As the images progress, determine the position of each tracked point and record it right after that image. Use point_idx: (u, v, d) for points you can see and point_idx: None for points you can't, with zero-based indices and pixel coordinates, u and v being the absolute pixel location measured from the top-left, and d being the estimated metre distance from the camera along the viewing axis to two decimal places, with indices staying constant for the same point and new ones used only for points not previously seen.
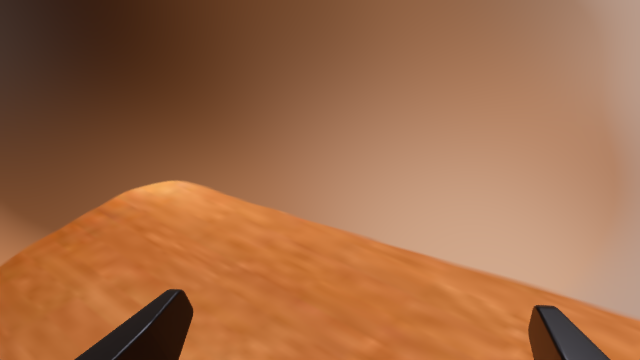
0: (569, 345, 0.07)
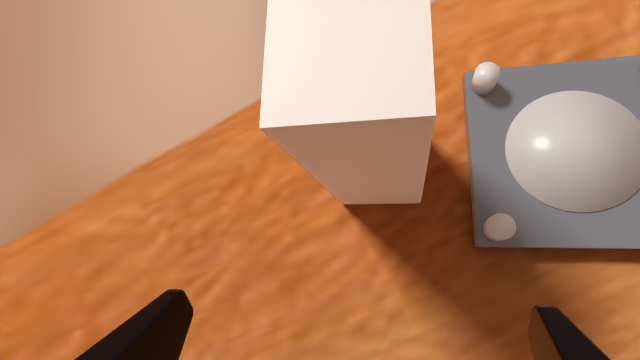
0: (569, 345, 0.07)
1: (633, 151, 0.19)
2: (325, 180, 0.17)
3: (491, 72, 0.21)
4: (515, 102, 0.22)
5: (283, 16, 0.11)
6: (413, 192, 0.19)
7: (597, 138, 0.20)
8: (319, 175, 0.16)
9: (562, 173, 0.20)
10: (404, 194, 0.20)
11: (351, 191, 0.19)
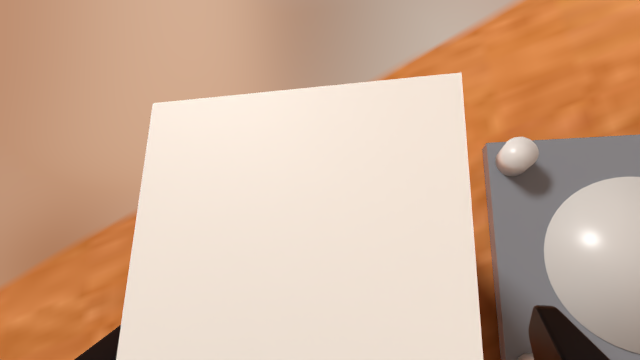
0: (569, 345, 0.07)
1: None
2: None
3: (525, 152, 0.15)
4: (556, 188, 0.16)
5: (172, 174, 0.06)
6: None
7: None
8: None
9: (626, 297, 0.14)
10: None
11: None
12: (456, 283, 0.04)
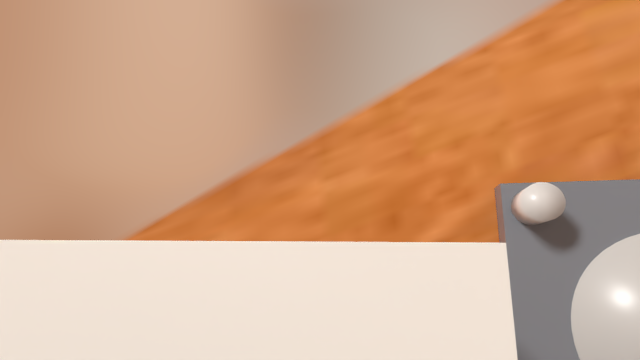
0: None
1: None
2: None
3: (549, 201, 0.13)
4: (585, 242, 0.13)
5: None
6: None
7: None
8: None
9: None
10: None
11: None
12: None
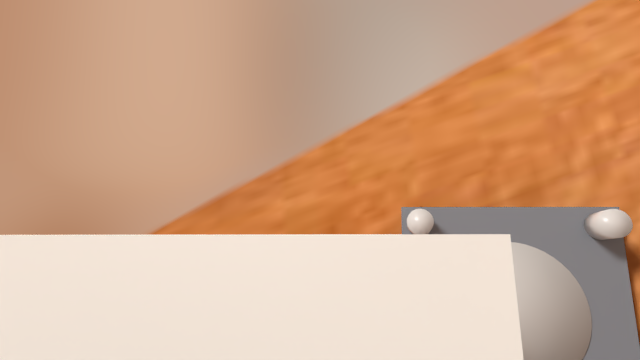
0: None
1: (572, 321, 0.18)
2: None
3: (424, 221, 0.19)
4: None
5: None
6: None
7: (535, 301, 0.18)
8: None
9: None
10: None
11: None
12: None
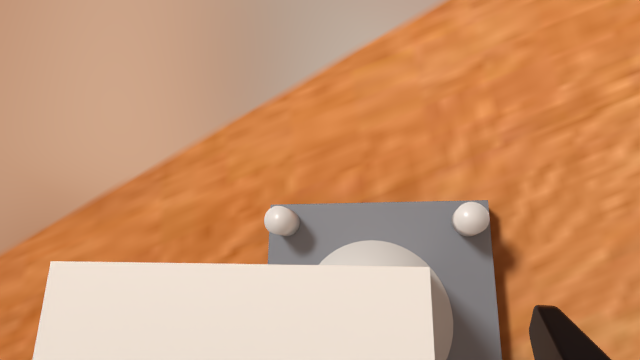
0: (570, 345, 0.07)
1: (434, 326, 0.16)
2: None
3: (281, 219, 0.18)
4: (318, 248, 0.18)
5: None
6: None
7: None
8: None
9: None
10: None
11: None
12: None
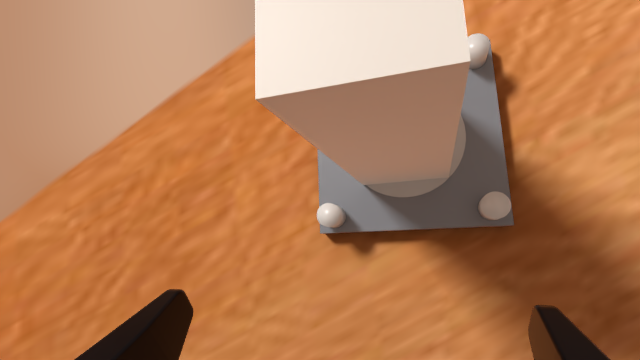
0: (569, 345, 0.07)
1: None
2: (341, 159, 0.15)
3: None
4: None
5: None
6: (440, 165, 0.17)
7: None
8: (333, 153, 0.14)
9: None
10: (430, 168, 0.18)
11: (371, 169, 0.18)
12: None
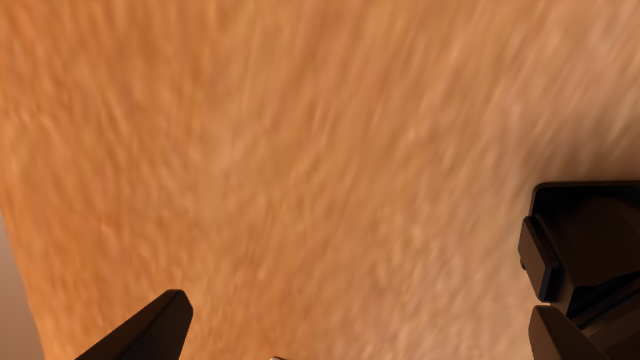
0: (569, 345, 0.07)
1: None
2: None
3: None
4: None
5: None
6: None
7: None
8: None
9: None
10: None
11: None
12: None
